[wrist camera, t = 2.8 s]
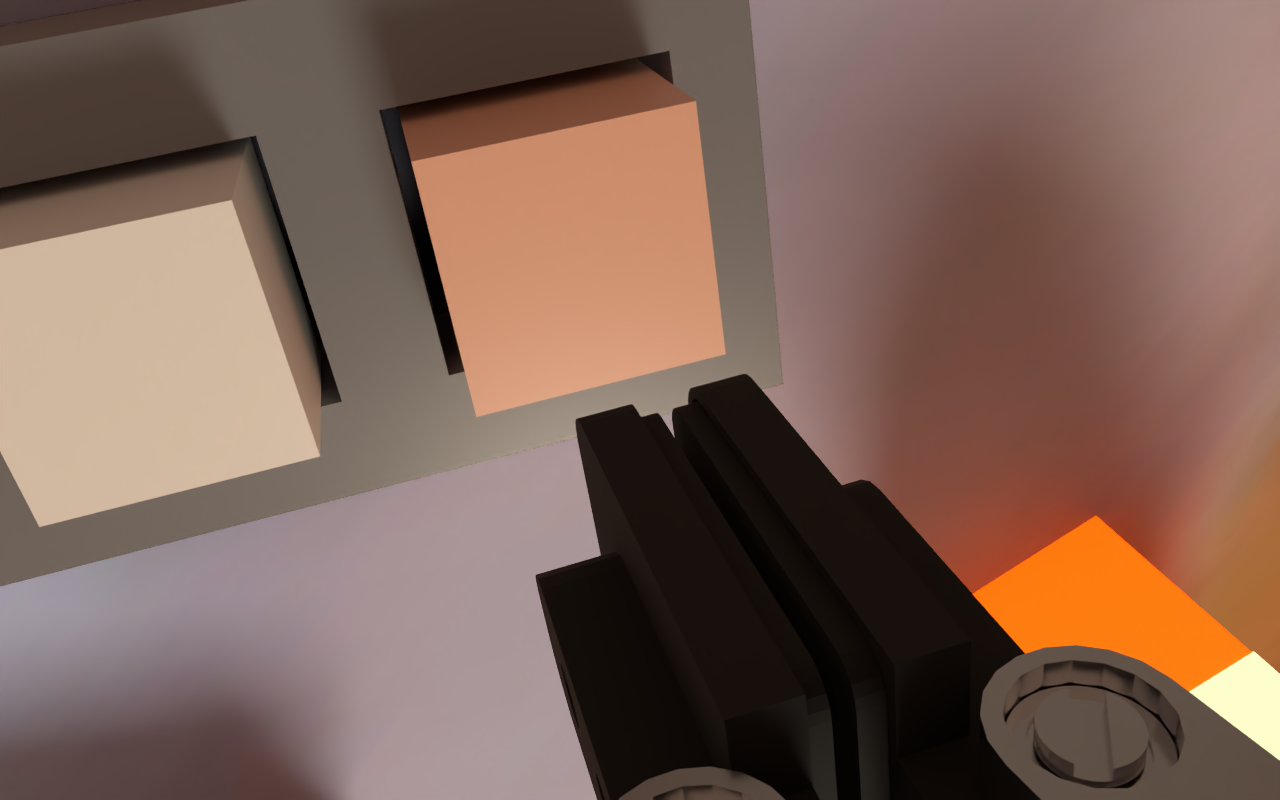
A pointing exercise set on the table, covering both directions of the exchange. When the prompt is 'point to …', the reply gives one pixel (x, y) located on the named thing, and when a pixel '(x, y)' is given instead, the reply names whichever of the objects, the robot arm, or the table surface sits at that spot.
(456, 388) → the control panel
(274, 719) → the table surface
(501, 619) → the table surface
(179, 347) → the middle button
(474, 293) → the inner button
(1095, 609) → the orange juice
